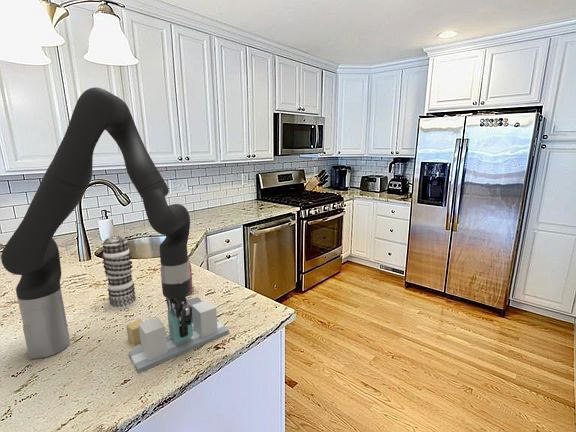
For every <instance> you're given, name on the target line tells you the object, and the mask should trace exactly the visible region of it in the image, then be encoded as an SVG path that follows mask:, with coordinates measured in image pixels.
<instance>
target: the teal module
mask: <svg viewBox="0 0 576 432" xmlns="http://www.w3.org/2000/svg"><path fill="white" fill-rule="evenodd" d="M180 314H181V313H178V315H180ZM167 319H168V321H167V322H168V330H169V331H168V334H169V335H170V337H171V338H172V339H173V341H174V342H175V343H178V342H180V341H183V340H185V339H187V338H190V337H192V336H193V331H192V326H193V323H192V321H191V324H190V325H188V336H186V337H183V338H181V337H180V332H179V323H178V319H177V318H176V316H175V313H174V310H172V311H170V310H169V311H168V310H167Z"/></svg>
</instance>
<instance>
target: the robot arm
mask: <svg viewBox="0 0 576 432" xmlns="http://www.w3.org/2000/svg"><path fill="white" fill-rule="evenodd" d="M104 131H106V132H107V133H108V135H110V136H111V138H112V139H113V140H114V141H115V143H116V144H117V146H118V148H119V150H120V153H121V155H122V158H123V161H124V166H125V168H126V173H127V176H128V177H129V180H130V181H131V183H132V184H133V186H134V187H135V190H136V191H137V193H138V194H139V196H140V198H141V199H142V202H143V207H144V210H145V214H146V217H147V220H148V223H149V225H150V227H151V228H152V229H153V230H154V231H155V232H156V233H158V234H160V235H163V236H165V239H164V240H162V242H161V243H160V244H159V259H160V280H161V289H162V290H161V292H162V295H163V296H164V297H165V300H166V306H167V311H169V310H170V311H172V310H174V313H175V316H176V318H177V319H178V323H179V332H180V337H181V338H183V337H186V336H188V325H190V324H191V321H192V307H189V308H188V306H187V305H188V301H187V300H188V299H187V296H189V295H190V294H191V293H192V292H191V279H190V267H189V263H188V260H189V258H188V257H189V255H188V241H189V237H190V228H191V217H190V213H189V211H188V209H187V208H186V206H184V205H183V204H180V203H172V204H169V205H168V202H167V198H166V197H167V196H168V194H169V192H170V189H169V186H168V185H167V183H166V182H165V179H164V178H163V176H162V175H161V173H160V171H159V170H158V168H157V167H156V164H155V162H154V161H153V159H152V158H151V156H150V154H149V152H148V150H147V148H146V146H145V143H144V142H143V139H142V138H141V135H140V133H139V131H138V128H137V126H136V123H135V121H134V118H133V116H132V113H131V111H130V109H129V106H128V105H127V103H126V102H125V101H124V100H123V99H122V98H120V97H118V96H117V95H115V94H114V93H112V92H109V90H105V89H104V88H101V87H91V88H88V89H86V90H85V91H83V92H82V93H81V94H80V96H79V97H78V100H77V101H76V104H75V106H74V109H73V111H72V114H71V117H70V120H69V123H68V126H67V129H66V131H65V134H64V135H63V138H62V139H61V141H60V145H59V146H58V148H57V150H56V153H55V155H54V157H53V159H52V160H51V162H50V164H49V165H48V167H47V170H46V171H45V173H44V175H43V177H42V179H41V181H40V183H39V186H38V187H37V189H36V192H35V194H34V195H33V198H32V199H31V202H30V204H29V206H28V208H27V210H26V212H25V215H24V217H23V219H22V221H21V222H20V224H19V225H18V227H16V230H15V231H14V232H13V234H12V236H11V237H10V238H9V239H8V241H7V242H6V244H5V246H4V247H3V249H2V251H1V255H0V259H1V264H2V266H3V267H4V269H5V270H6V271H7V272H8V273H10V274H12V275H16V276H20V279H19V280H18V281H19V282H18V283H17V285H16V287H15V293H16V298H17V302H18V306H19V312H20V316H21V320H22V331H23V335H24V339H25V340H24V341H25V344H26V349H27V353H28V359H29V360H30V361H31V360H35V359H42V358H49V357H51V356H54V355H57V354H58V353H60V352H62V351H64V350H65V349H66V348H67V347H69V346H70V344H71V338H70V337H71V336H70V333H69V328H68V321H67V317H66V309H65V304H64V300H63V294H62V293H63V292H62V287H61V279H62V267H61V266H62V265H61V259H60V258H61V257H60V251H59V247H58V245H57V242H56V241H55V239H54V238H53V237H54V235H55V233H56V232H57V230H58V229H59V228H60V226H61V225H62V224H63V223H64V222H65V220H66V219H68V217H69V216H70V215H71V214H72V213H73V211H74V210H75V209H76V208H77V206H78V205H79V204H80V202H81V201H82V199H83V197H84V196H85V193H86V191H87V190H88V188H89V185H90V183H91V181H92V179H93V178H92V177H93V164H94V163H93V157H94V151H95V148H96V146H97V144H98V142H99V140H100V138H101V136H102V135H103V133H104ZM190 292H191V293H190ZM189 293H190V294H189ZM188 294H189V295H188ZM178 313H181V314H180V315H178Z"/></svg>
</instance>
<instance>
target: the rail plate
mask: <svg viewBox="0 0 576 432" xmlns="http://www.w3.org/2000/svg"><path fill="white" fill-rule="evenodd" d="M201 301H202V300H201ZM192 315H193V323H192V331H193V336H192V337H190V338H187V339H185V340H183V341H180V342H178V343H175V342H174V341H173V339H172V338H171V337H170V334H169V335H167V333H166V331H167V330H166V325H165V324H164V323H163V322H162V320H161V319H160V318H159V316H157V317H153V318H150V319H148V320H145V321H143V322H142V323H139V332H140V340H141V343H140V345H141V346H139V347H136V348H134V349H131V350H129V351H128V353H127V354H128V356H129V358H130V360H131V362H132V364H133V366H134V368H135V370H136V372H137V373H138V374H140V373H142V372H145V371H146V370H149V369H152V368H155V367H156V366H158V365H160V364H163V363H165V362H167V361H169V360H172V359H174V358H177V357H179V356H182V355H183V354H185V353H188V352H190V351H192V350H194V349H196V348H199V347H201V346H204V345H206V344H208V343H210V342H213V341H214V340H217V339H220V338H221V337H223V336H227V335H229V334H230V329H229V328H228V327H227V326H225V325H224V324H223V323H222V322H221V321H219V320H218V316H217V315H218V314H217V307H216V306H215V305H214V304H213V303H212V302H210V301H209V300H208V299H205V300H203V301H202V302H200V303H197V304H194V305H192Z"/></svg>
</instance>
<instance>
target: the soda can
mask: <svg viewBox="0 0 576 432" xmlns="http://www.w3.org/2000/svg"><path fill="white" fill-rule="evenodd" d="M188 263H189V267H190V279H191V292H190V293H189V294H188V295H187V296H189V295H191V293H192V292H193V290H194V287H193V274H192V265H191V261H190V259H188Z"/></svg>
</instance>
